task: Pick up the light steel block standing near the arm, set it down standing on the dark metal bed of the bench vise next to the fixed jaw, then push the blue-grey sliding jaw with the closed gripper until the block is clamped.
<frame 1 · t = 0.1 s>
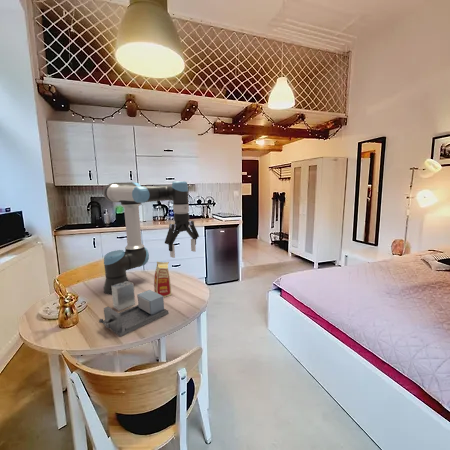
hand: (183, 254, 131), 28 cm above the table, fingers open, 13 cm apart
steel block: (124, 305, 136), on the table
vise body: (137, 318, 123), on the table
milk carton: (163, 294, 150), on the table
sliding jaw: (150, 301, 128), point 5 cm above the table, slide at 0.0 cm
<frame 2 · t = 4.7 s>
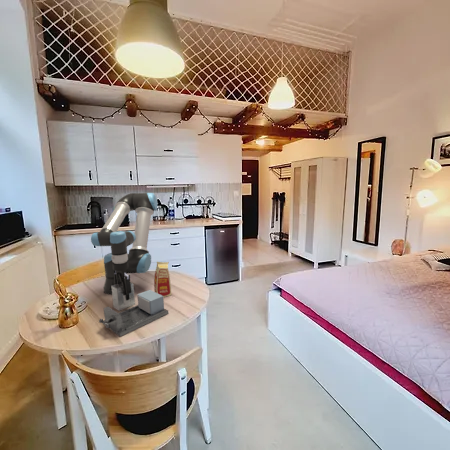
hand: (124, 303, 136), 1 cm above the table, fingers closed on steel block, 6 cm apart
steel block: (124, 305, 136), on the table, touching gripper
everything else where it was.
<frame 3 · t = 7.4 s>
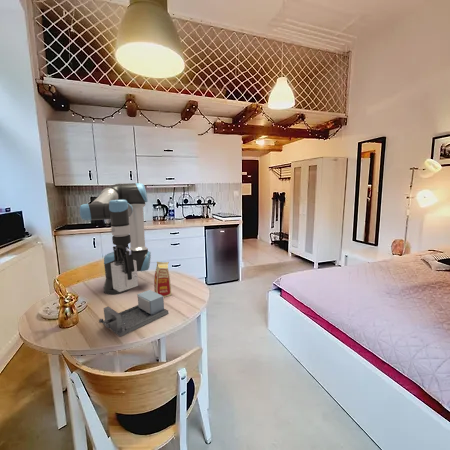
hand: (125, 284, 117), 19 cm above the table, fingers closed on steel block, 6 cm apart
steel block: (125, 287, 117), point 17 cm above the table, touching gripper
everything else where it was.
when the fingers open (4 cm above the table, at t = 10.4 s): steel block drops 1 cm, resting on vise body.
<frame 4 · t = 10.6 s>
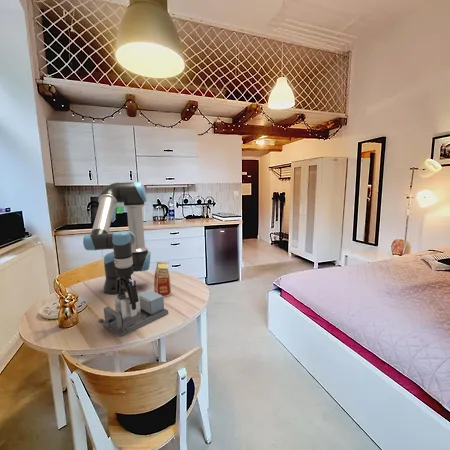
hand: (128, 312, 119), 5 cm above the table, fingers open, 9 cm apart
steel block: (128, 318, 120), point 1 cm above the table, touching vise body
everything else where it was.
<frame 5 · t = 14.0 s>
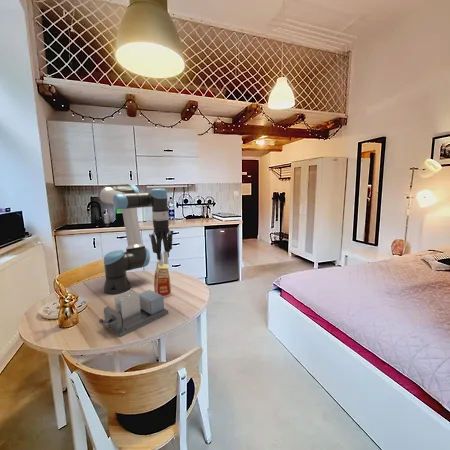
hand: (163, 264, 132), 23 cm above the table, fingers open, 3 cm apart
nothing on the table moved.
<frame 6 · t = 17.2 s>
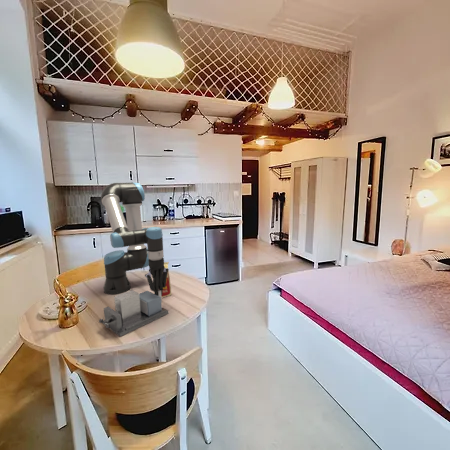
hand: (159, 302, 132), 3 cm above the table, fingers closed
sliding jaw: (147, 302, 127), point 5 cm above the table, slide at 1.4 cm, touching gripper
everything else where it was.
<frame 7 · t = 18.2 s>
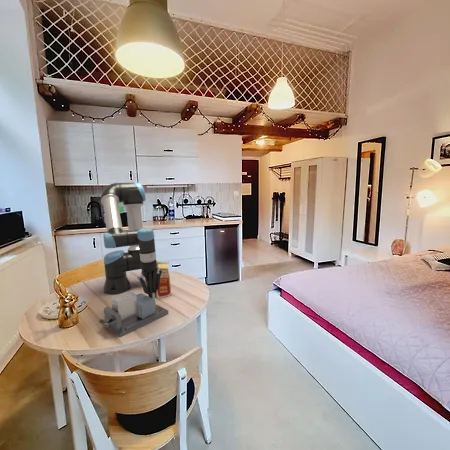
hand: (153, 304, 129), 3 cm above the table, fingers closed
steel block: (126, 320, 119), point 1 cm above the table, touching sliding jaw, vise body
sliding jaw: (141, 305, 124), point 5 cm above the table, slide at 4.9 cm, touching gripper, steel block
everything else where it was.
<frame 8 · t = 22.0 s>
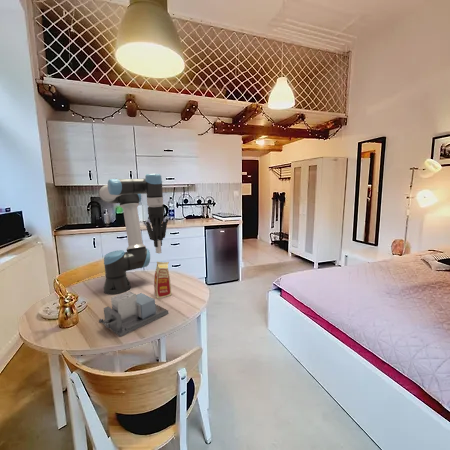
hand: (158, 252, 129), 29 cm above the table, fingers closed
steel block: (126, 320, 119), point 1 cm above the table, touching vise body
sliding jaw: (141, 305, 124), point 6 cm above the table, slide at 4.8 cm
everything else where it was.
at the end: steel block inside the target area (0.3 cm from its centre), point 1.5 cm above the table; sliding jaw slide at 4.8 cm; steel block tilted 0° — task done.
